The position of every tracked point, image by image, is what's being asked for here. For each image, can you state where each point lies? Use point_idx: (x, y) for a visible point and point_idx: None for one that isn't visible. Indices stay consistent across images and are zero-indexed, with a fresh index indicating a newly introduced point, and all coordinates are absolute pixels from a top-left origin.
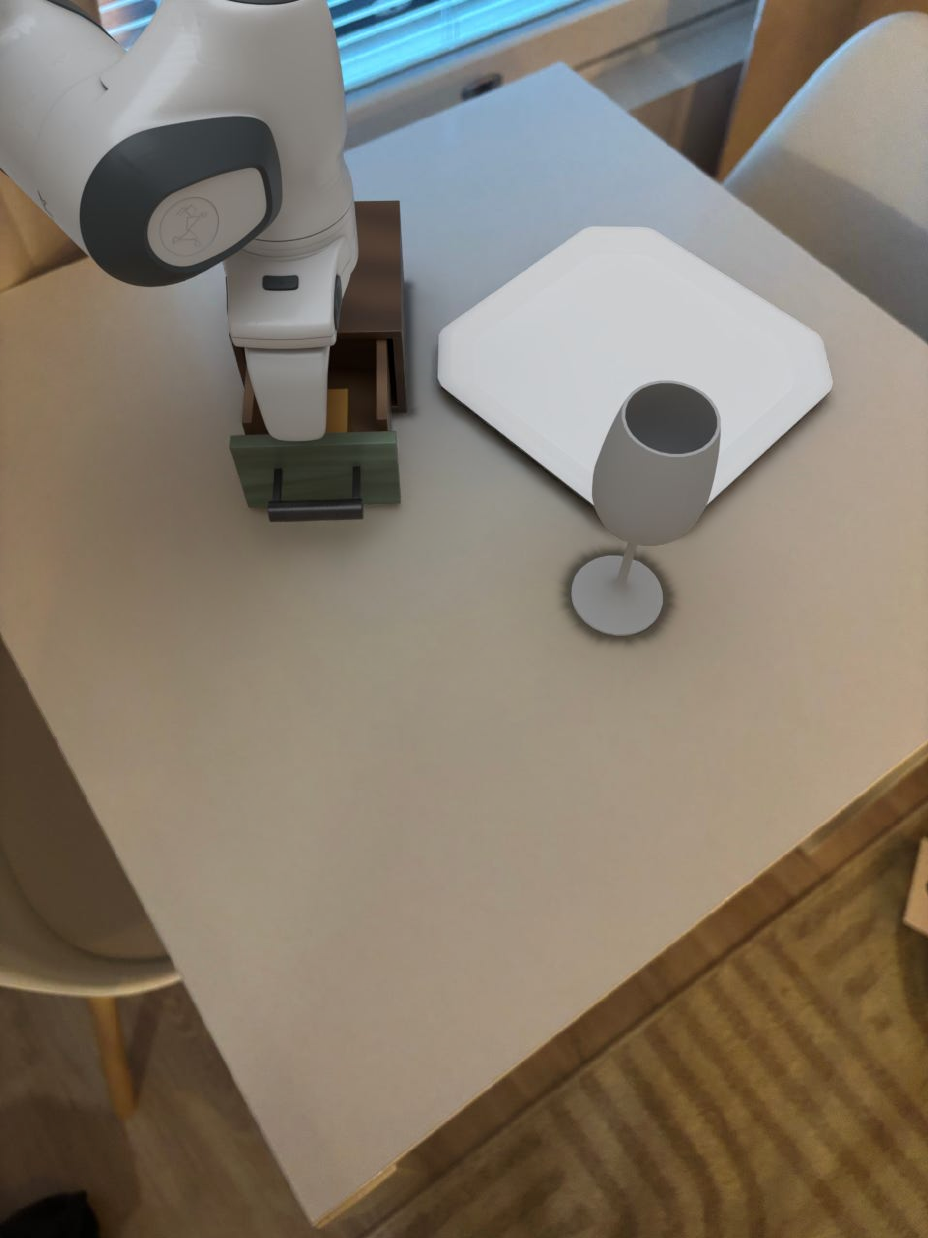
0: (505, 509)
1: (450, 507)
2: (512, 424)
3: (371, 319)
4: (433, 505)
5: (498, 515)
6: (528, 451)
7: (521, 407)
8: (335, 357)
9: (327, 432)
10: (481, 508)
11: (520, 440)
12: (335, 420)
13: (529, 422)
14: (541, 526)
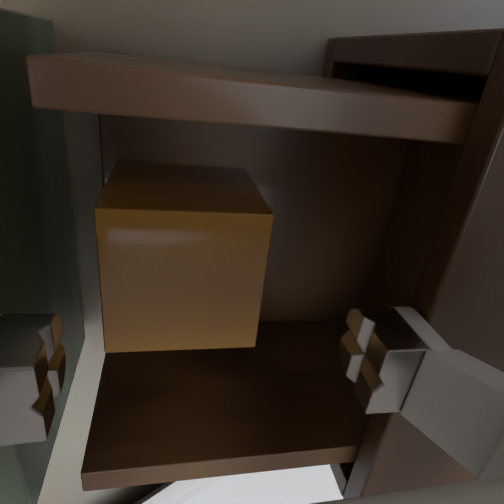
0: (75, 448)
1: (74, 388)
2: (205, 482)
3: (411, 467)
4: (77, 367)
5: (63, 442)
6: (153, 500)
7: (245, 476)
8: (397, 264)
9: (103, 309)
10: (75, 424)
11: (173, 493)
12: (148, 325)
13: (216, 485)
14: (46, 484)
